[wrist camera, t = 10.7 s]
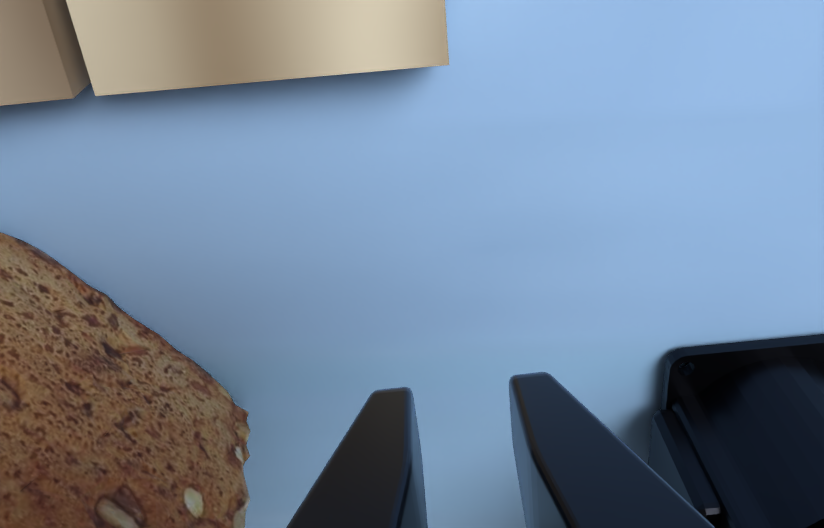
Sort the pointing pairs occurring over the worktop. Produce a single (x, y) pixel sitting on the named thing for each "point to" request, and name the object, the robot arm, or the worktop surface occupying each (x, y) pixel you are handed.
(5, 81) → the cardboard box
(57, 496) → the bread
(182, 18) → the oak plank
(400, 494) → the robot arm
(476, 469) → the worktop surface
